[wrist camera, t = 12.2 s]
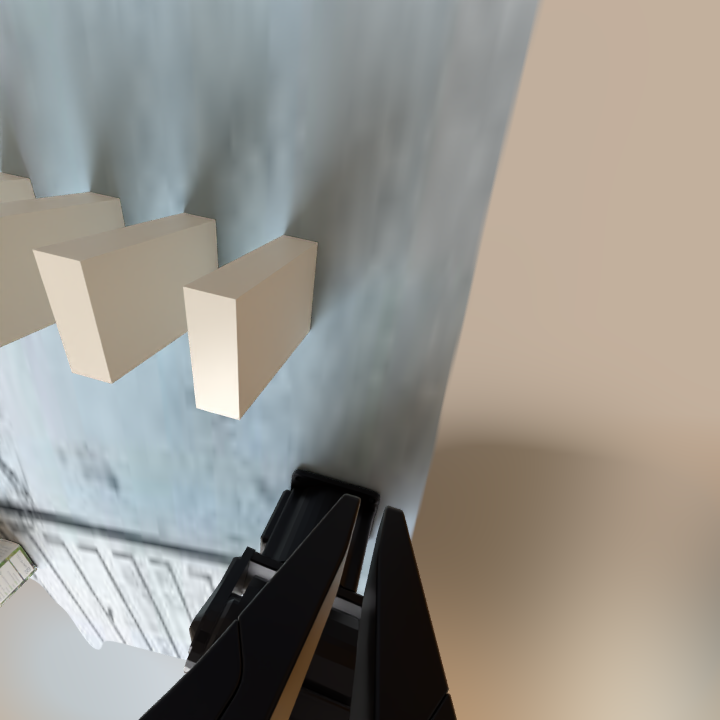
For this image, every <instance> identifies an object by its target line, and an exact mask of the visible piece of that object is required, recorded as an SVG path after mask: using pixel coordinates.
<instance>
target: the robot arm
mask: <svg viewBox="0 0 720 720" xmlns="http://www.w3.org/2000/svg"><path fill="white" fill-rule="evenodd" d="M379 500H380V495H379V494H378V493H377V492H374V491H371V490H368V489H364V488H361V487H357V486H354V485H351V484H347V483H344V482H341V481H337V480H334V479H330V478H327V477H324V476H320V475H317V474H313V473H310V472H307V471H303V470H299V469H298V470H295V471H294V473H293V475H292V482H291V490H285V491H284V492H283V493H282V495H281V498H280V500H279V502H278V504H277V506H276V508H275V510H274V512H273V514H272V516H271V518H270V520H269V522H268V524H267V526H266V528H265V530H264V532H263V534H262V536H261V550H260V553H258V552H255V549H252V548H250V547H247V548H246V550H245V552H244V553H243V555H242V557H234V558H233V560H232V562H231V564H230V565H229V567H228V569H227V571H226V573H225V575H224V576H223V578H222V580H221V582H220V583H219V585H218V586H217V588H216V589H215V591H214V592H213V593H212V595H211V596H210V597H209V599H208V600H207V602H206V603H205V604H204V606H203V607H202V608H201V610H200V611H199V613H198V614H197V615H196V617H195V618H194V620H193V622H192V624H191V626H190V628H189V631H190V636H191V641H192V643H191V646H190V649H189V656H188V658H187V661H186V664H185V668H184V672H185V673H186V674H185V675H184V676H183V677H182V678H181V679H180V680H179V681H178V682H177V683H176V684H175V685H174V686H173V687H172V688H171V689H170V690H169V691H168V692H167V693H166V694H165V695H164V696H163V697H162V698H161V699H160V700H158V702H157V703H155V705H153V706H152V707H151V708H150V709H149V710H148V711H147V712H146V713H145V714H144V715H143V716H142V717H141V718H140V719H139V720H457V718H456V714H455V710H454V707H453V703H452V699H451V695H450V694H448V693H447V692H448V690H449V688H448V684H447V680H446V676H445V672H444V668H443V664H442V660H441V657H440V653H439V649H438V645H437V641H436V637H435V633H434V630H433V625H432V621H431V618H430V614H429V610H428V606H427V602H426V598H425V594H424V590H423V586H422V583H421V579H420V575H419V571H418V567H417V563H416V559H415V556H414V551H413V547H412V543H411V539H410V536H409V532H408V528H407V524H406V520H405V516H404V513H403V511H402V510H400V509H397V508H394V507H390V506H386V507H385V510H384V513H383V516H382V520H381V523H380V526H379V530H378V534H377V538H376V543H375V547H374V552H373V556H372V561H371V565H370V570H369V574H368V579H367V583H366V588H365V592H364V596H362V595H360V594H357V593H356V592H357V588H358V583H359V579H360V574H361V570H362V565H363V561H364V556H365V552H366V547H367V543H368V539H369V536H370V532H371V529H372V525H373V522H374V518H375V515H376V511H377V508H378V504H379ZM242 594H243V596H241V595H242Z"/></svg>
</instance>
